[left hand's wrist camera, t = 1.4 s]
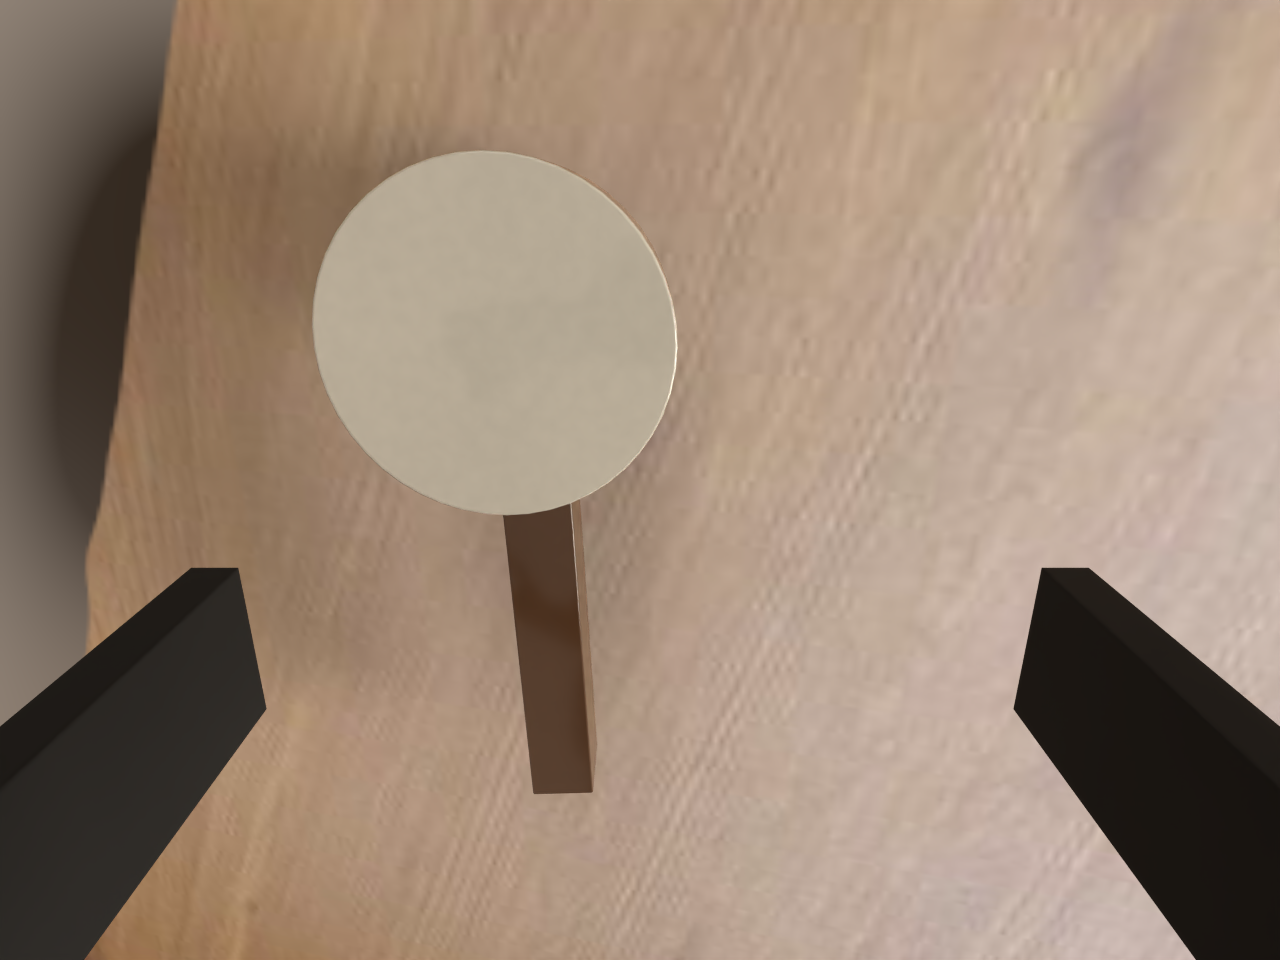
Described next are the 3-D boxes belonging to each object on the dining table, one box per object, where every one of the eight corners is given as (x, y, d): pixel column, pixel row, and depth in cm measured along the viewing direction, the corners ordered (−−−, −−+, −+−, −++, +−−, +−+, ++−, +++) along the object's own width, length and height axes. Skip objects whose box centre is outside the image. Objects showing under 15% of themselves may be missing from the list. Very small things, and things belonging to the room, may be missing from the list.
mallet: (425, 183, 31) (343, 180, 22) (650, 174, 31) (652, 167, 22) (489, 688, 39) (447, 824, 31) (666, 683, 39) (672, 818, 31)
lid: (432, 84, 22) (400, 67, 19) (735, 268, 23) (747, 278, 20) (302, 387, 25) (258, 413, 22) (578, 531, 26) (570, 571, 24)
